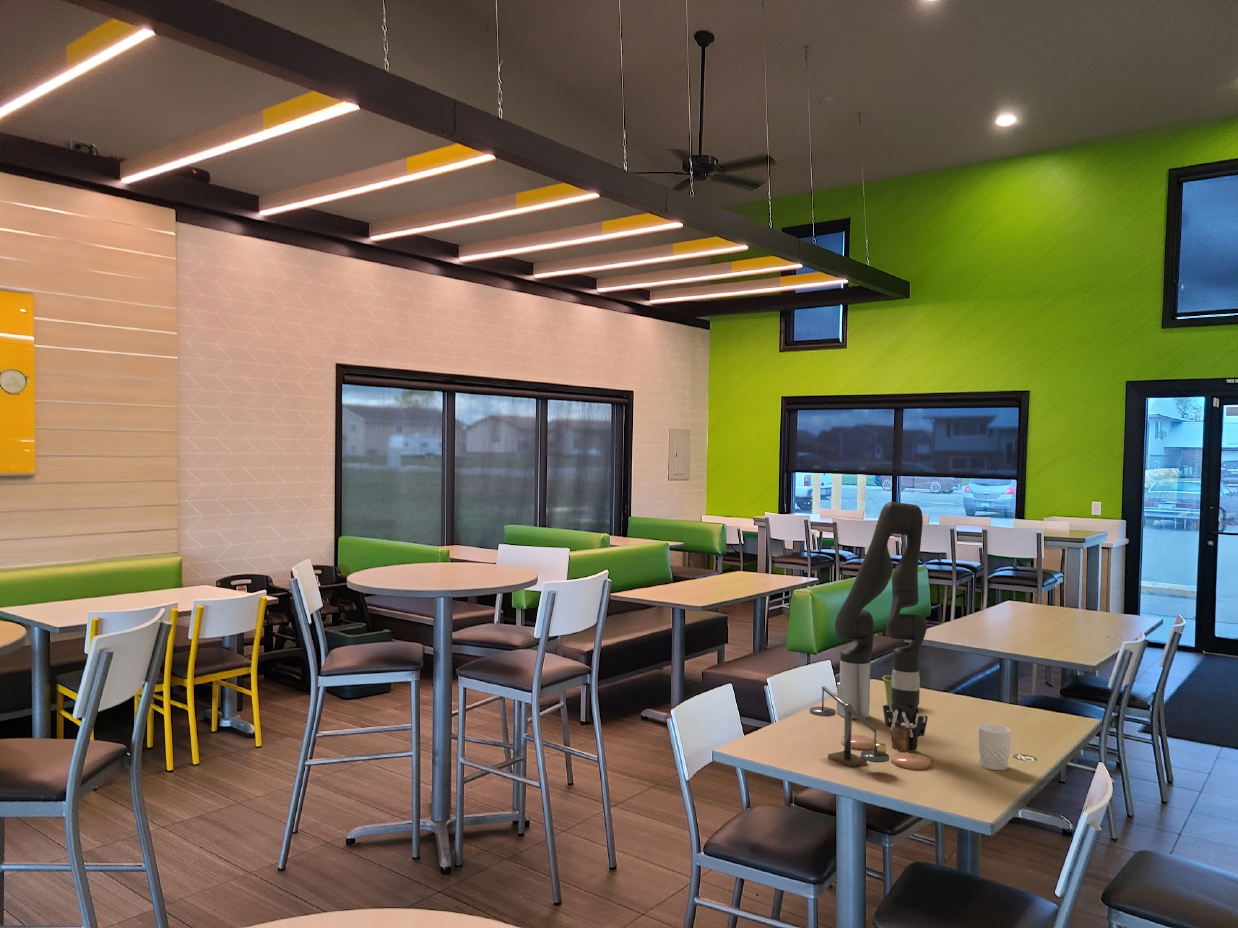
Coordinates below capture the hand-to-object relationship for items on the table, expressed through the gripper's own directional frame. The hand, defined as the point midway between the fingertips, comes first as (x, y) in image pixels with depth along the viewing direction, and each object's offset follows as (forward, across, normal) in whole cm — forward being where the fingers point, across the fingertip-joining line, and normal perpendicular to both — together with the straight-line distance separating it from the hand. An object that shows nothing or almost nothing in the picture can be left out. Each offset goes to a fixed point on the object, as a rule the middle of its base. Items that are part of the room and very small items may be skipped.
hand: (904, 746), depth 243 cm
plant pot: (+1, -34, +36) cm, 50 cm away
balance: (+1, 0, -22) cm, 22 cm away
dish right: (+1, +9, -8) cm, 12 cm away
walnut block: (+1, 0, 0) cm, 1 cm away
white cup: (+1, +21, +10) cm, 23 cm away
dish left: (+1, -9, -8) cm, 12 cm away
